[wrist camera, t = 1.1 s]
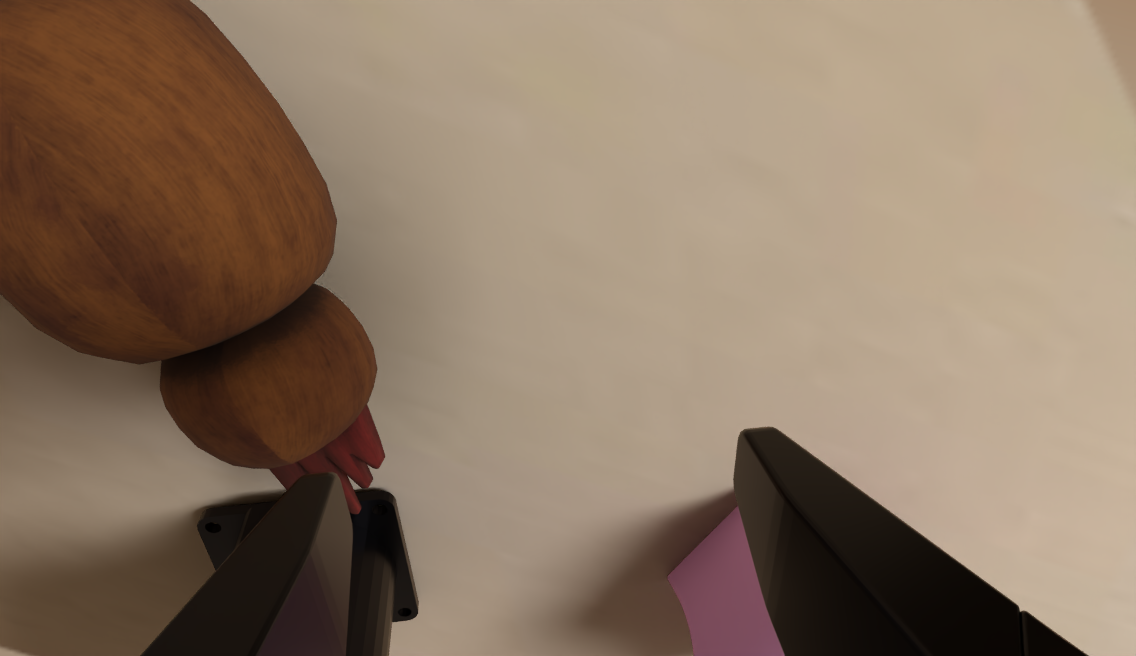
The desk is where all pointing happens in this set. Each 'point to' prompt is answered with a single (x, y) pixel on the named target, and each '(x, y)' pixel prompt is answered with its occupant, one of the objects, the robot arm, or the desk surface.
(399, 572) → the robot arm
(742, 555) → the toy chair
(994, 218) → the desk surface
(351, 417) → the wooden figurine
